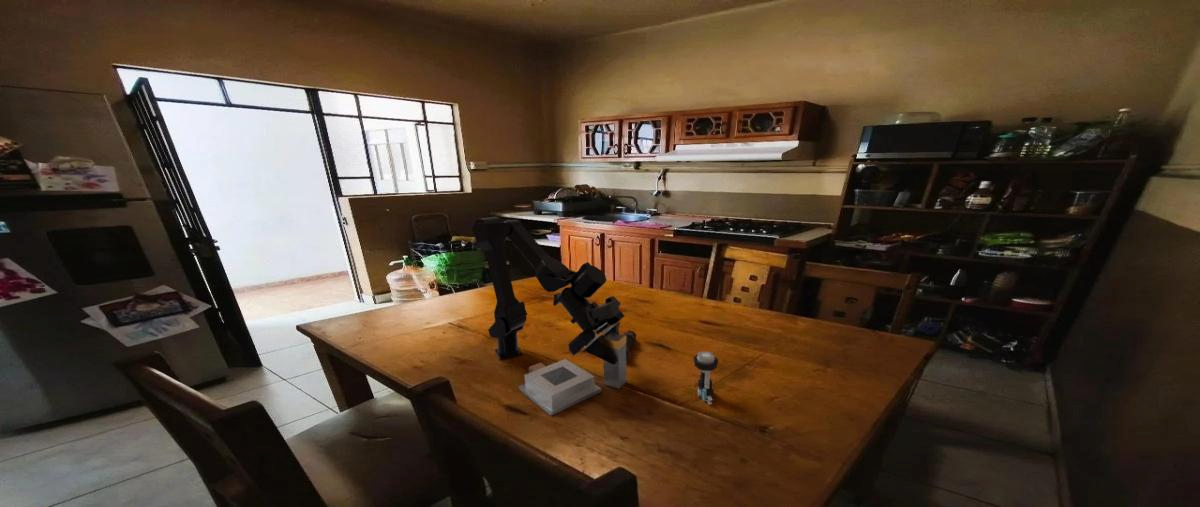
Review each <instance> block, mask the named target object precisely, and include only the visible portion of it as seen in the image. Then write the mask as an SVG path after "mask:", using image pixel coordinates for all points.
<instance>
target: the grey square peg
mask: <svg viewBox="0 0 1200 507" xmlns="http://www.w3.org/2000/svg"><path fill="white" fill-rule="evenodd" d="M623 334H624V333H623ZM623 334H622V333H619V334H618V333H613V332H611V333H609V334H608V335H607V336H605V337H604V338H603V339H604V344H605V345H606V347H607V348H608V349H609V351H610V352H611V354H612V355H613V357H614V358H615V360H616V363H615V364H614V365H612V364H610V363H608V362H606V361H605V360H603V378H604V379H603V380H604V381H603V382H604V386H608V387H611V388H614V389H620V388H621V387H622V386H623V385H625V384H626V382H627V362H626V335H623Z"/></svg>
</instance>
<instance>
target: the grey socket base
mask: <svg viewBox="0 0 1200 507" xmlns="http://www.w3.org/2000/svg"><path fill="white" fill-rule="evenodd" d="M518 390H520V391H521V393H523V394H524V395H525V396H526V397H528V398H529V400H531V401H533V402H534V403H535V405H537V406H538V407H540V408H541V409H542V410H543V411H545V413H547V414H548V415H550V417H552V416H554V415H556V414H558V413H560V412H562V411H564V410H566V409H568V408H571V407H572V406H574V405H577V404H579V403H581V402H582V401H585V400H587V399H589V398H591V397H593V396H595V395H597V394H599V393H600V392H602V387H600V386H598V385H597V384H596V383H595V376H594V375H592V374H591V373H589V372H588V371H586V370H584V369H583V368H582V367H579V366H578V365H576V364H575V363H573V362H571V361H570V360H567V359H566V358H565V359H562V360H559V361H557V362H554V363H551V364H548V365H547V366H546V365H545V364H544V363H542V362H539V363H535V364H533V365H530V366H528V373H526V374H524V384H521V385H519V386H518Z"/></svg>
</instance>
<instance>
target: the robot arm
mask: <svg viewBox="0 0 1200 507" xmlns="http://www.w3.org/2000/svg"><path fill="white" fill-rule="evenodd" d="M471 229H472V234H473V237H474V239H475V241H476V244H477V245H478V246H479V247H480V248H481V249H482V250H483V251H484V253H485V257H486V258H485V259H486V261H487V265H488V269H489V273H490V278H491V282H492V286H493V291H494V294H495V299H496V304H495V305H496V306H495V308H494V311H493V312H494V314H493V315H494V322H493V323H492V325H491V326H490V327H489V328H488V333H489V337H490V338H493V339H496V341H497V348H496V349H494V353H495V354H496V355H497V357H498V359H499V360H506V359H509V358H513V357H518V356H521V355H523V351H522V350H521V349H520V347H519V343H518V339H519V338H518V332H520V331H522V330H524V326H525V324H526V322H527V316H528V312H527V310H526V304H525V302H524V301H519V300H518V299H517V297H516V295H515V292H514V288H513V284H512V279H511V275H510V272H509V267H508V262H507V259H506V255H505V251H504V250H505V249H504V245H505V242H506V237H507V238H508V240H509V241H511V243H512V244H513V245H514V246H515V248H517V250H518V251H519V252H520V253H521V255H522V256H523V257H524V258H525V259H526V261H528V263H529V264H530V265H531V266H532V268H533V269H534V273H535V278H536V280H537V281H538V282H539V284H540V286H541V287H542V289H543V290H545V291H546V292H547V293H554V292H556V291H559V290H561V289H562V291H561V292H557V293H555V294H553V301H552V302H553V303H552V305H553V306H555V307H556V306H557V305H560V304H561V305H562V307H563V308H564V309H565V311H567V313H568V314H569V315H570V317H571V318H572V319H571V320H570V322H571V324H572V325H574V324H577V326H578V327H579V328H580V329H581V330H582V332H580V333H579V334H577V336H575V337H574V338H573V339H572V340H571V341H570V342H569V343H568V350H569V352H570V353H571V355H572V356H573V357H574V356H575V355H577V354H578V353H580V352H581V351H582V353H584V354H585V353H587V354H589V355H592V356H594V357H597V358H599V359H601V360H602V361H604V360H605V361H606V362H608V363H610V364H612V365H614V364H615V363H616V360H615V358H614V357H613V355H612V354H611V352H610V351H609V349H608V348H607V347H606V345H605V344H604V339H603V338H604V337H605V336H607V335H608V334H609V333H611V332H613V333H618V334H620V331H619V329H620V325H621V320H622V319H623V318H625V315H624V313H623V312H622V310H620V306H621V301H619V300H618V298H616V297H615V296H614V295H612V296H608V297H607V298H605V303H602V304H600V305H598V303H597V302H594V301H593V302H590V300H589V298H590V299H591V298H592V297H593V296H594V295H595V294H596V293H597V292H598V291H599V290H600V288H602V286H604V285H605V284H606V283H607V277H606V275H605V273H604V271H602V269H600V268H598V267H597V266H595V265H591V264H590V262H584V263H583V264H581V265H580V268H578V270H577V271H575V270H571V269H569V267H568V266H566V265H565V264H564V263H562V262H561V260H559V259H555V258H554V257H552V256H550V254H548V253H547V252H546V251H545V250H544V248H543V247H542V246H541V245H540V244H539V242H537V241H536V239H535V238H534V237H533V236H532V235H531V234H530V232H529V231H528V230H527V229H526V228H525V227H524V225H523V223H522V221H521V220H518V219H501V218H500V217H498V216H491V217H482V218H477V219H476V220H475V221H474V223H473V225H472V228H471ZM569 285H571V286H569ZM601 333H602V334H601ZM600 334H601V335H600ZM583 348H584V349H583ZM582 349H583V350H582Z"/></svg>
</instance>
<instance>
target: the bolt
mask: <svg viewBox="0 0 1200 507" xmlns="http://www.w3.org/2000/svg"><path fill="white" fill-rule="evenodd" d="M623 335H626V363H627V362H628V360H629V359H630V357H631V356H632V353H631V351H630V349H632V348H634V346H635V345H636V344H637V341H638V340H637V334H636V332H634V331H633V330H628V331H625V332H624V333H623Z"/></svg>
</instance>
